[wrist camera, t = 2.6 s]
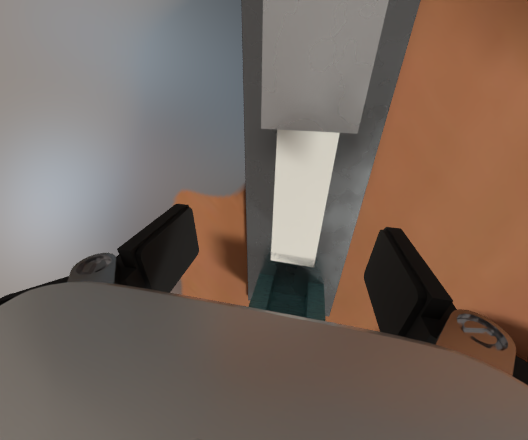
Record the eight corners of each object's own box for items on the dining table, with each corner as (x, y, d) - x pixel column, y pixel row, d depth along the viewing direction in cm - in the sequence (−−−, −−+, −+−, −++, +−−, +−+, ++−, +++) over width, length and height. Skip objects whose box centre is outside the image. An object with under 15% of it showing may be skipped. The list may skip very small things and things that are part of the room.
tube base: (241, -138, 13) (165, -378, 6) (468, -180, 10) (698, -603, 4) (249, 296, 32) (233, 344, 26) (328, 312, 30) (332, 368, 24)
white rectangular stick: (303, -124, 12) (296, -252, 7) (379, -136, 11) (420, -285, 7) (278, 231, 24) (270, 260, 19) (314, 236, 23) (313, 267, 19)
